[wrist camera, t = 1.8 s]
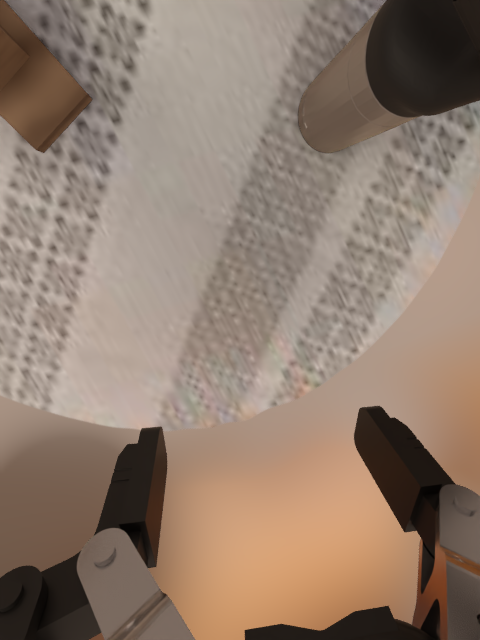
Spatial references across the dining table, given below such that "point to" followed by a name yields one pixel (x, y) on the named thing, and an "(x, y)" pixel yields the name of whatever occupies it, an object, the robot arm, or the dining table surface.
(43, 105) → the walnut stand
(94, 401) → the dining table surface
